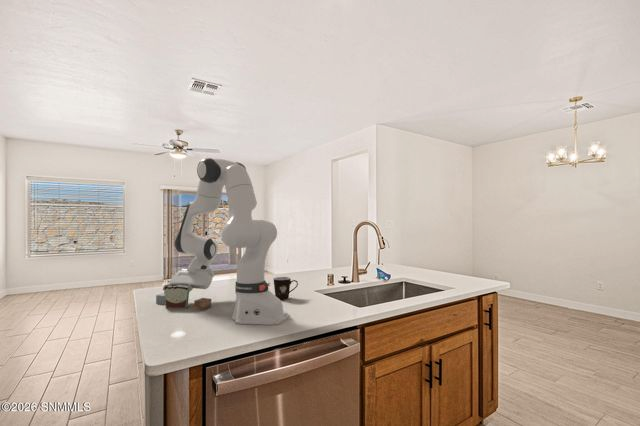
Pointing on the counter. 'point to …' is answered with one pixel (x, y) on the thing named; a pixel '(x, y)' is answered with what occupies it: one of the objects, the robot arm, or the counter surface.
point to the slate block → (160, 298)
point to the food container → (177, 295)
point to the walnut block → (202, 304)
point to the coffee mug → (283, 287)
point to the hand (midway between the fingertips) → (182, 294)
